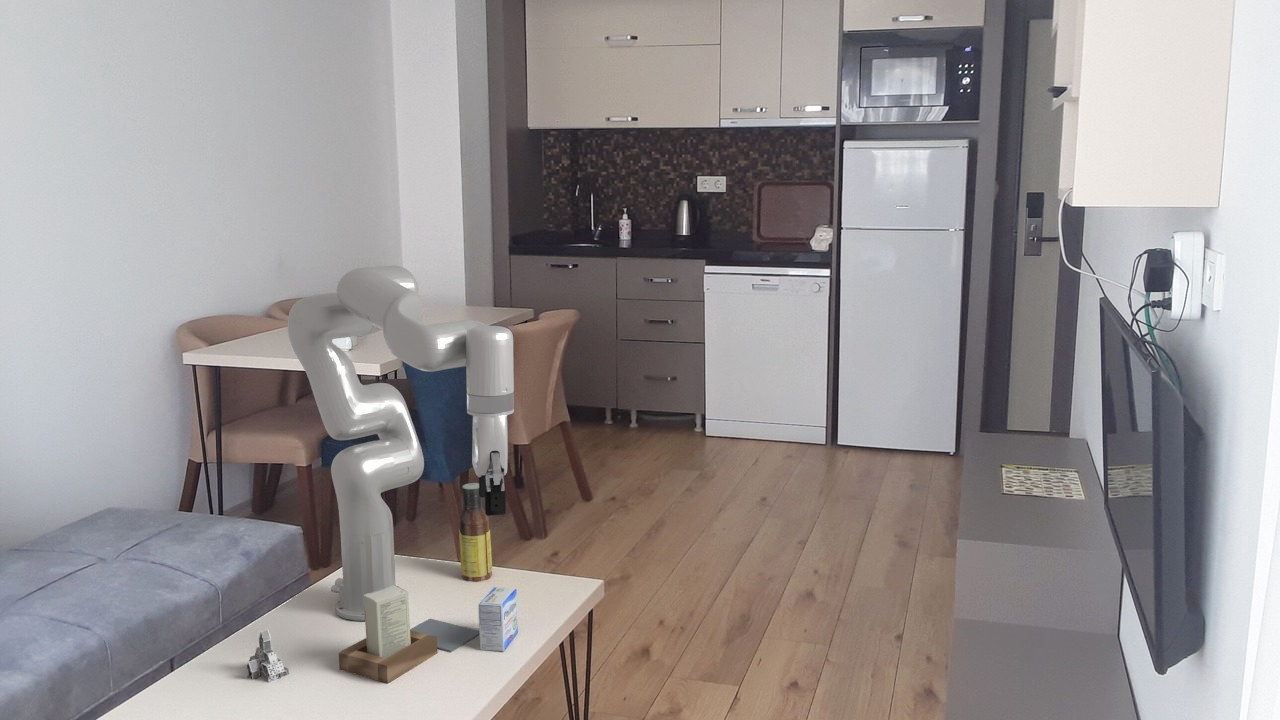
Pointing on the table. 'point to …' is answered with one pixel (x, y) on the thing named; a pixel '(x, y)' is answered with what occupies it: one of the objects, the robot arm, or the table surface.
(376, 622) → the skincare box
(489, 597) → the medicine box
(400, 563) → the table surface
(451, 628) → the charcoal mat
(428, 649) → the walnut holder
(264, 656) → the grey toy block stack
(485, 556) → the sauce bottle
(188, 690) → the table surface
